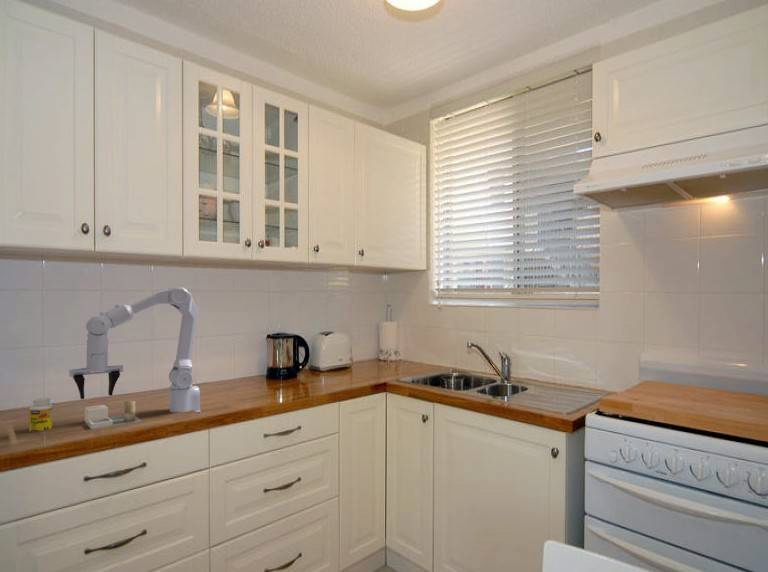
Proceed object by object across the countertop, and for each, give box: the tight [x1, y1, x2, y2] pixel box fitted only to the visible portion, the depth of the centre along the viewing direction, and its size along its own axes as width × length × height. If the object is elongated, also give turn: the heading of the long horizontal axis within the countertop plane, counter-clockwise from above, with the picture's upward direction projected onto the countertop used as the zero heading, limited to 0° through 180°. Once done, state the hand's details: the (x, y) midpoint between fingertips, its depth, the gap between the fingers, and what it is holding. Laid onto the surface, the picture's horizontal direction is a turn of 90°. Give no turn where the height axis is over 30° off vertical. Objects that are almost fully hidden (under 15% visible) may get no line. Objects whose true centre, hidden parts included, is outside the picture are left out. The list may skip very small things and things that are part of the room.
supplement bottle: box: [28, 397, 54, 433], centre depth 137 cm, size 6×6×10 cm
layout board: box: [83, 414, 143, 431], centre depth 145 cm, size 14×13×4 cm
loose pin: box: [123, 400, 136, 422], centre depth 146 cm, size 3×3×6 cm
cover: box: [84, 404, 109, 424], centre depth 145 cm, size 5×5×4 cm
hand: (96, 396), depth 145 cm, fingers open, 7 cm apart
